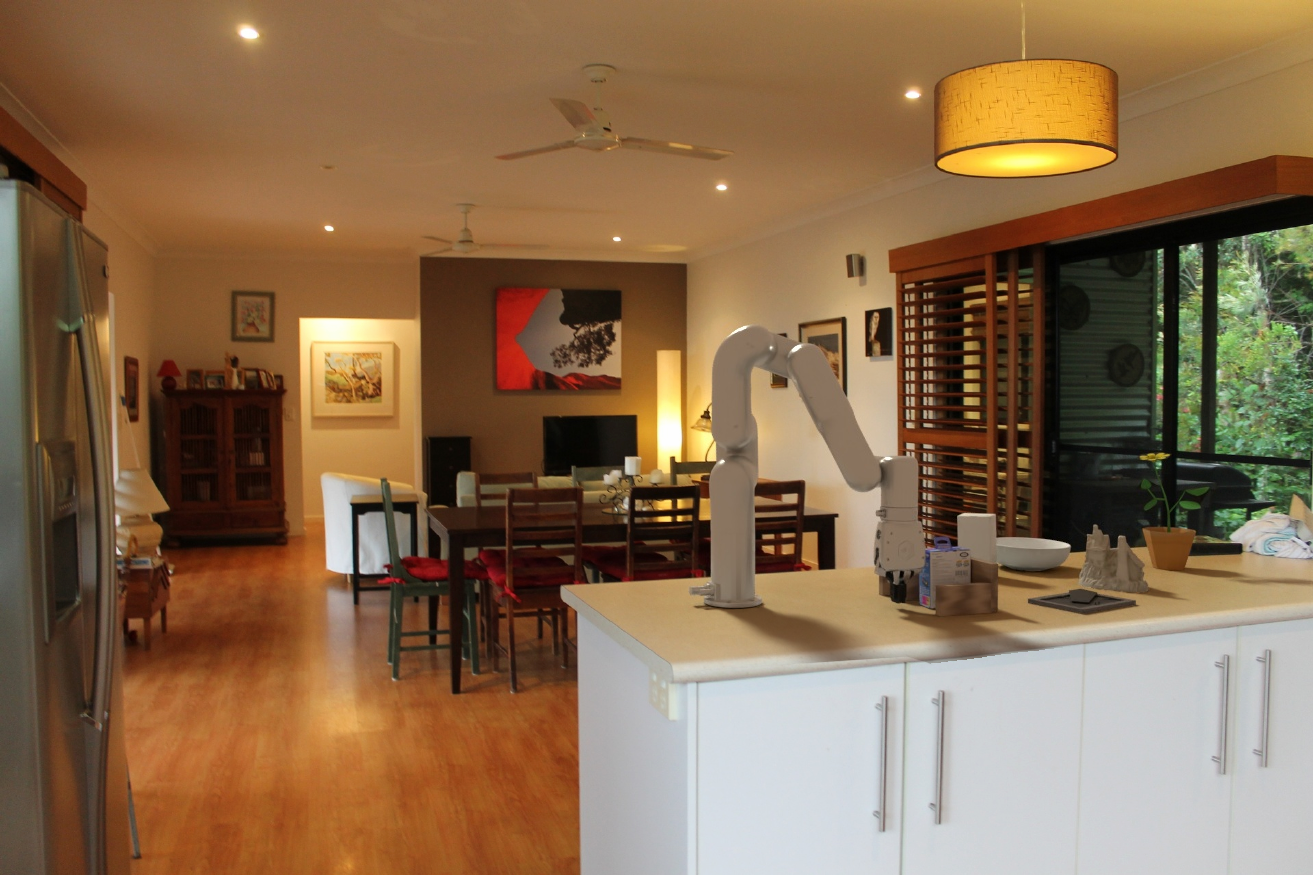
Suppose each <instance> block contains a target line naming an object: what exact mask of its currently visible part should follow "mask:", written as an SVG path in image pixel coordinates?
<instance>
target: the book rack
mask: <svg viewBox="0 0 1313 875" xmlns="http://www.w3.org/2000/svg"><path fill="white" fill-rule="evenodd" d="M929 548H930V547H925V549H929ZM884 570H885V569H884ZM885 571H886V570H885ZM898 572H899V571H898ZM878 595H880V596H882V597H883V596H890V582H888V580H887V579H886V578H885V577H884V576H880V575H878ZM913 600H915V601H917V600H920V594H919V574H916V575H913V577H912V578H911V579H910V581H909V583H908V584H907V597H906V601H913ZM998 606H999V563H993V562H989V561H985V560H981V559H976V558H972V557H971V583H967V584H951V585H936V608H935V616H938V617H950V616H962V615H963V616H966V615H977V614H978V615H979V614H990V613H992V614H993V613H999V612H998V610H999V608H998Z"/></svg>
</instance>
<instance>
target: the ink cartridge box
mask: <svg viewBox="0 0 1313 875" xmlns="http://www.w3.org/2000/svg"><path fill="white" fill-rule="evenodd" d="M939 541H945V542H946V543H943V542H942V543H938V542H939ZM933 542H934V546H935V547H928V548H929V549H926V548H925V555H926V562H925V566H924V567H923V568H922V573H919V594H920V599H919V605H920V606H922V607H925V608H927V609H936V585H951V584H967V583H971V550H970V549H966V548H962V547H958V546H952V544H951V540H950V538H949V536H938V537H937V536H934V537H933Z"/></svg>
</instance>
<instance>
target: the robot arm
mask: <svg viewBox="0 0 1313 875" xmlns="http://www.w3.org/2000/svg"><path fill="white" fill-rule="evenodd" d="M712 362H713V363H712V367H711V368H712V369H711V423H710V424H711V425H710V426H711V427H710V432H711V436H712V438H713V441H714V442H715V456H716V457H715V459H716V460H715V462H716V463H715V464H714V466H713V468H712V469H711V471H710V476H709V482H708V488H709V490H708V491H709V492H708V493H709V505H710V580H706V584H704V583H703V585H700V586H699V585H691V586H689V588H688V592H689V595H690V596H699V597H702V596H703V603H704V604H706V605H708V606H712V607H718V608H727V609H728V608H730V609H731V608H732V609H740V608H741V609H742V608H752V607H756V606H759V605H761V604H762V603H763V597H762V596H760V595H758V594H756V512H755V508H756V507H755V506H756V505H755V488H756V486H757V483H758V480H759V437H758V436H759V432H758V423H757V419H756V417H755V415H754V414H753V413H752V372H753V369H754V368H757V369H761V370H763V371H766V372H769V373H771V374H774V375H777V376H780V377H782V378H786V379H789V380H791V381H792V383H793V385H794V388H795V389H796V391H797V392H798V394H799V396H800V398H801V401H802V402H803V404H804V406H805V407H806V410H807V412H808V414H809V416H810V418H811V420H812V422H813V424H814V425H815V428H816V430H817V432H819V434H820V435H821V437H822V438H823V440H824V442H825V444H826V445H827V449H829V452H830V453H831V456H832V458H833V459H834V462H835V464H836V465H837V468H838V469H839V471H840V473H841V475H842V477H843V479H844V481H845V483H846V485H847V486H848V487H849V488H850V489H851V490H852V491H853V490H854V491H855V492H858V493H868V492H871V491H873V490H875V489H876V488H877V489H878V488H880V506H879V510H877V509H876V510H875V516H876V517H878V518H879V519H880V520H878V521H877V524H876V525H877V526H876V529H875V534H874V542H873V565H874V574H875V575H876V576H877V575H878V576H879V575H880V576H884V577H885V578H886V579H887V580H888V582H890V595H889V597H890V601H891V602H892V603H895V604H899V605H900V604H906V601H907V600H906V597H907V584H908V583H909V581H910V579H911V578H912V577H913V575H916V574H919V573H922V568H923V567H924V566H925V562H926V555H925V549H926V540H925V536H924V535H925V534H924V530H923V523H922V521H920V520H919V519H918V516H919V515H918V513H919V512H918V510H919V508H918V507H919V503H918V502H919V500H918V498H919V463H918V459H917V458H915V457H914V456H909V455H888V456H881V455H880V456H879V455H878V456H877V455H874V453H873V450H872V449H871V447H870V445H869V444H868V441H867V438H866V437H865V436H864V433H863V431H862V430H861V428H860V425H859V423H858V420H857V419H856V414H855V413H854V412H855V411H854V409H853V408H852V406H851V402H850V401H849V399H848V397H847V395H846V394H845V392H844V389H843V388H842V386H841V384H840V382H839V380H838V379H837V376H836V374H835V372H834V371H833V368H832V367H831V365H830V362H829V361H828V359H827V357H826V355H825V353H824V351H823V350H822V349H821V348H820V347H819V346H818V345H816V344H813V343H810V342H809V343H807V342H806V343H805V342H800V341H796V340H795V339H791V338H789V337H786V336H783V335H780V334H778V333H775V332H772V331H770V330H769V329H767V328H766V327H764V326H762V325H760V324H748V325H744V326H742V327H739V328H738V329H736V330H735V331H733V332H732V333H730V334H729V335H727V337H726V338H725V339H724V340H723V341H721V343H720V345H719V346H718V348H717V349H716V353H715V355H714V358H713V361H712ZM884 569H885V570H886V571H885V570H884ZM898 571H899V572H898Z"/></svg>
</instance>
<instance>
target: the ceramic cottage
mask: <svg viewBox="0 0 1313 875" xmlns="http://www.w3.org/2000/svg"><path fill="white" fill-rule="evenodd" d="M1092 527H1093V529H1092V534H1089V533H1087V534H1086V536H1087V539H1086V545H1085V546H1086V547H1085V549H1086V550H1085V555H1084V557H1085V560H1084V563H1083V565H1082V567H1081V571H1080V572H1079V575H1078V576H1079V580H1078V585H1079V586H1081V585H1082V586H1081V587H1084V588H1088V587H1091V588H1090V589H1095V590H1102V589H1104V590H1105V591H1111V592H1120V591H1123V592H1122V593H1135V592H1138V593H1145V591H1146V592H1148V591H1149V590H1148V589H1149V584H1148V582H1147V581H1146V580H1144V577H1145V572H1144V570H1143V568H1144V567H1145V566H1146V565H1145V563H1144V562H1143V560H1141V559H1140V558H1139V557H1138V555H1136V553H1135V552H1134V551H1133V549H1132V548H1131V547H1130V545H1129V543H1127V539H1126V538H1127V537H1126V536H1125V535H1119V536H1118V538H1117V547H1113V548H1111V542H1110V536H1109V534H1103V532H1102V529H1099V526H1098V525H1097V524H1093V526H1092Z"/></svg>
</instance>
